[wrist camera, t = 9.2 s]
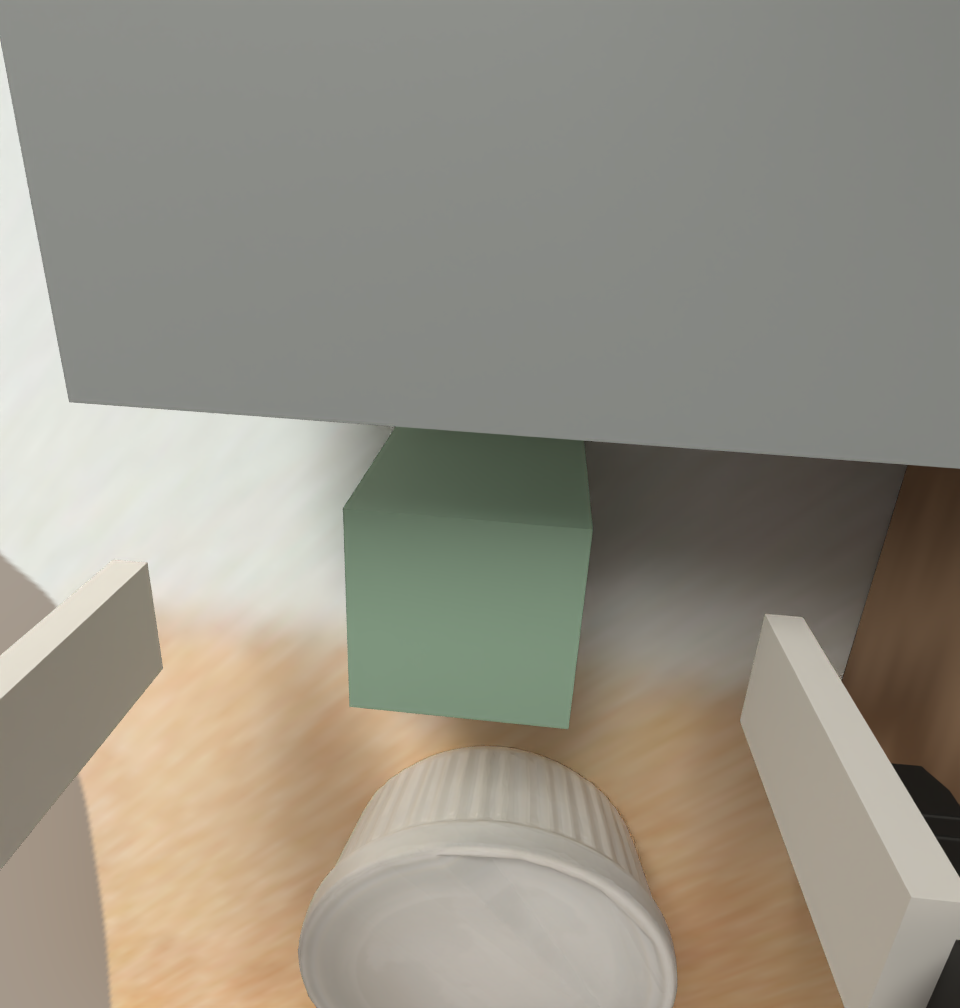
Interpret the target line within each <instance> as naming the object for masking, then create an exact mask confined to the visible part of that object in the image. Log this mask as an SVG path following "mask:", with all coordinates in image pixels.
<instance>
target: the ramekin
mask: <svg viewBox="0 0 960 1008" xmlns="http://www.w3.org/2000/svg"><path fill="white" fill-rule="evenodd" d="M298 956H299V966H300V972H301V975H302V979H303V982H304V985H305V988H306V990H307V993H308V996H309V997H310V999H311V1001H312V1002H313V1003H314V1004H315V1006H316V1007H317V1008H673V1005H674V1001H675V997H676V992H677V964H676V957H675V951H674V946H673V942H672V938H671V934H670V931H669V928H668V926H667V924H666V921H665V919H664V917H663V914H662V913H661V911H660V909H659V907H658V906H657V904H656V903H655V901H654V900H653V898H652V895H651V892H650V889H649V886H648V883H647V880H646V878H645V875H644V872H643V869H642V866H641V863H640V860H639V857H638V854H637V852H636V849H635V846H634V843H633V840H632V838H631V836H630V834H629V831H628V828H627V826H626V824H625V822H624V821H623V819H622V818H621V816H620V815H619V813H618V811H617V809H616V808H615V807H614V806H613V805H612V804H611V802H610V801H609V800H608V798H607V797H606V796H605V795H604V794H603V793H602V792H601V791H600V790H598V789H597V788H596V787H595V786H594V785H593V784H592V783H591V782H590V781H588V780H586V779H584V778H583V777H581V776H580V775H579V774H578V773H576V772H574V771H573V770H571V769H569V768H567V767H566V766H564V765H562V764H560V763H558V762H556V761H554V760H551V759H549V758H547V757H544V756H541V755H538V754H535V753H532V752H528V751H524V750H520V749H515V748H509V747H499V746H474V747H465V748H459V749H453V750H449V751H445V752H442V753H439V754H436V755H433V756H430V757H428V758H426V759H423V760H421V761H419V762H417V763H415V764H414V765H412V766H410V767H408V768H406V769H404V770H402V771H401V772H400V773H399V774H397V775H395V776H394V777H392V778H390V779H389V780H388V781H387V782H386V783H385V785H383V786H382V787H381V788H379V789H378V790H377V791H376V792H375V794H374V795H373V797H372V799H371V800H370V801H369V803H368V804H367V806H366V807H365V809H364V811H363V812H362V814H361V816H360V818H359V820H358V822H357V824H356V826H355V828H354V830H353V832H352V834H351V836H350V838H349V839H348V841H347V843H346V845H345V847H344V849H343V851H342V853H341V855H340V857H339V859H338V861H337V863H336V865H335V867H334V868H333V869H332V870H331V871H330V873H329V874H328V875H327V876H326V877H325V878H324V880H323V881H322V883H321V884H320V886H319V887H318V889H317V891H316V892H315V894H314V896H313V898H312V900H311V902H310V905H309V907H308V910H307V913H306V916H305V919H304V922H303V925H302V930H301V934H300V940H299V948H298Z"/></svg>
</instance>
